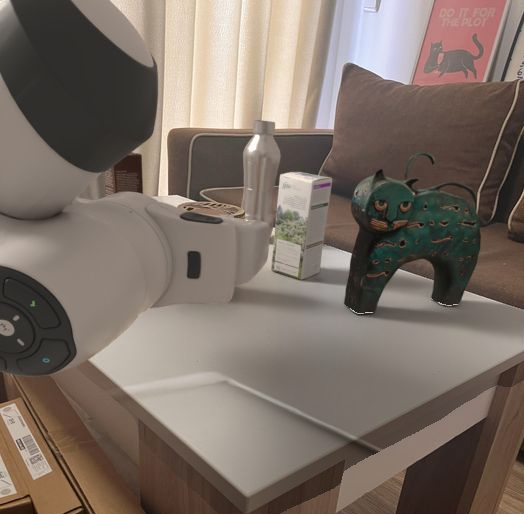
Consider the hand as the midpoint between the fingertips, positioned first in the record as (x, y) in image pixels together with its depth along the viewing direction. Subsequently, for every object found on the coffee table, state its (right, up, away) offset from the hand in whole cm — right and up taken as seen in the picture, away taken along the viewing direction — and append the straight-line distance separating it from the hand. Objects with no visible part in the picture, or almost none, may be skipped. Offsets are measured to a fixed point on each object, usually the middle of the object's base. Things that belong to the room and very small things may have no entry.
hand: (182, 217), depth 54 cm
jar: (+1, -6, +16) cm, 17 cm away
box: (-19, +12, +48) cm, 53 cm away
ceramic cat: (+27, -8, +18) cm, 34 cm away
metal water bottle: (+7, +7, +43) cm, 44 cm away
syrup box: (+13, -2, +27) cm, 30 cm away
